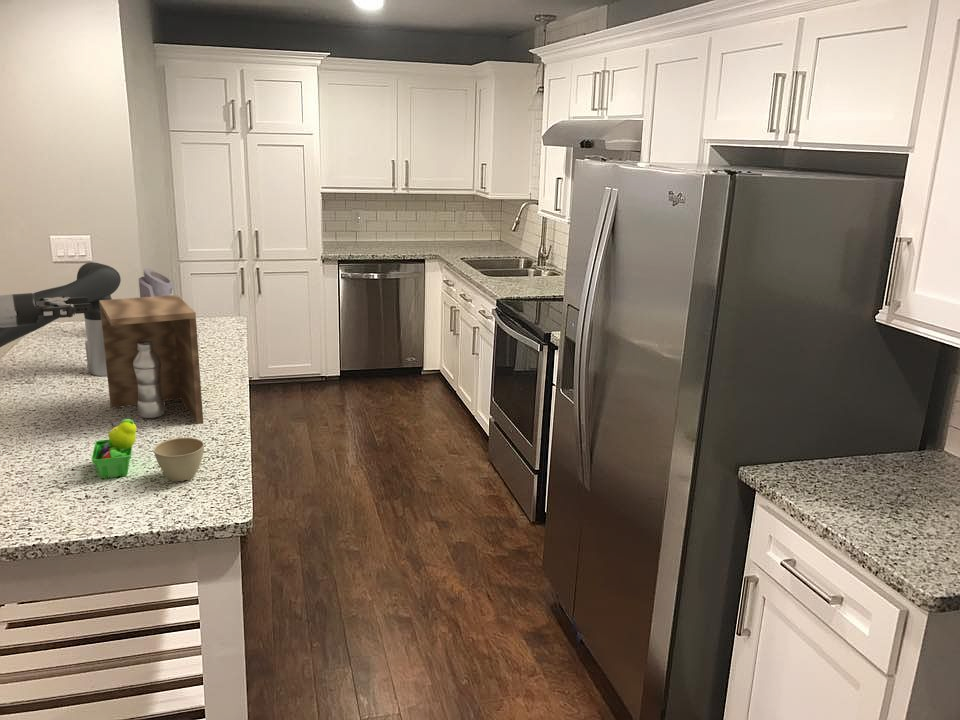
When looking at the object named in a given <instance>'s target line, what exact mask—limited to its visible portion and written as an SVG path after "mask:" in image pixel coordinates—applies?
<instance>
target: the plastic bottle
mask: <svg viewBox="0 0 960 720" xmlns="http://www.w3.org/2000/svg"><path fill="white" fill-rule="evenodd" d="M137 345H138V348H137V350H138V351H139V352H138V354H137V355H136V356H135V358H134V361H133V367H134V370H135V374H136V378H137V383H138V384H137V385H138V404H137V405H136V406H137V408H136V409H137V412H138V415H139V416H140V417H141V418H142V419H143V418H144V419H155V418H159V417H162V416H163V415H164V414H165V412H166V410H165V409H166V404H165V401H164V400H163V397H162V392H161V386H160V368H161V361H160V359H159V357H158V356H157V355H156V354H155V352H154V351H153V349H154V347H153V341H140V342H138V343H137Z"/></svg>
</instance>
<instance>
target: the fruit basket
mask: <svg viewBox="0 0 960 720" xmlns="http://www.w3.org/2000/svg"><path fill="white" fill-rule="evenodd" d="M134 422H135V421H134V420H133V419H130V418H124V419H123V420H121V422H120V423H119V424H118V425H117V426H114V428H112V429H111V430H110V431H109V432H108V439H102V440H97V441H95V443H94V448H93V452H92V455H91V462H92V464H93V465H94V466H95V468H96V471H97V474H98V476H99V478H100V479H101V478H104V479H110V478H109V477H114V478H119V477H118V476H120V477H127V476H128V473H129V467H130V461H131V460H130V459H131V458H132V452H133V451H132V450H133V445H134V444H135V443H136V440H137V439H136V438H137V433H136V432H137V426H136V424H135V423H134ZM126 475H127V476H126ZM106 477H108V478H106Z"/></svg>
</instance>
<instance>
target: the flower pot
mask: <svg viewBox="0 0 960 720" xmlns="http://www.w3.org/2000/svg"><path fill="white" fill-rule="evenodd" d="M204 449H205V443H204V442H203V440H201V439H198V438H195V437H177V438H170V439H167V440H165V441H162V442H160V443H158V444H157V445H155V446H154V448H153V454H154V456H155V459H156V461H157V464H158V466H159V469H161V471H162V473H164V475H165V476H166V477H167V478H168V479H169V481H171V480H173V481H172V482H175V481H182V482H185V481H184V480H187V481H189V480H188V479H190V478H192V477H193V478H194V477H195V476H196V474H197V472H198V470H199V468H200V465H201V463H202V460H203V456H204ZM193 478H192V479H193ZM190 480H191V479H190Z"/></svg>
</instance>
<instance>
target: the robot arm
mask: <svg viewBox="0 0 960 720" xmlns="http://www.w3.org/2000/svg"><path fill="white" fill-rule="evenodd" d="M121 278H122V277H121V275H120V273H119V272H118V271H117V269H115V268H114V267H112V266H110V265H107V264H104V263H99V262H96V261H95V262H94V261H91V262H86V263H84V264H82V265H81V266H80V267H79V269H78V271H77V275H76V280H74V281H72V282H69V283H67V284H64V285H60V286H56V287H52V288H48V289H47V288H46V289H42V290H39V291H35V292H34V293H33V292H28V293H13V294H10V293H9V294H0V348H1V347H4V346H6V345H8V344H10V343H12V342H13V341H16V340H18V339H20V338H22V337H25V336H26V335H28V334H31V333H33V332H35V331H37V330H39V329H42V328H43V327H45V326H46V325H47V326H48V324H49V325H50V324H51V323H52V322H55V321H56V320H58V319H60V318H61V319H63V318H72V317H73V316H75V315H78V314H83V316H84V323H85V324H84V325H85V331H86V333H85V334H86V341H85V342H84V343H85V344H84V345H85V354H86V361H87V371H88V373H90V374H91V375H93V376H99V377H100V376H101V377H102V376H103V377H105V376H106V377H107V369H106V360H105V350H104V341H103V332H102V322H101V313H100V304H99V300H112V296H111V295H112V294H113V293H115V292H116V291H117V290H118V289H119V287H120V285H121V281H122V279H121Z"/></svg>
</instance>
